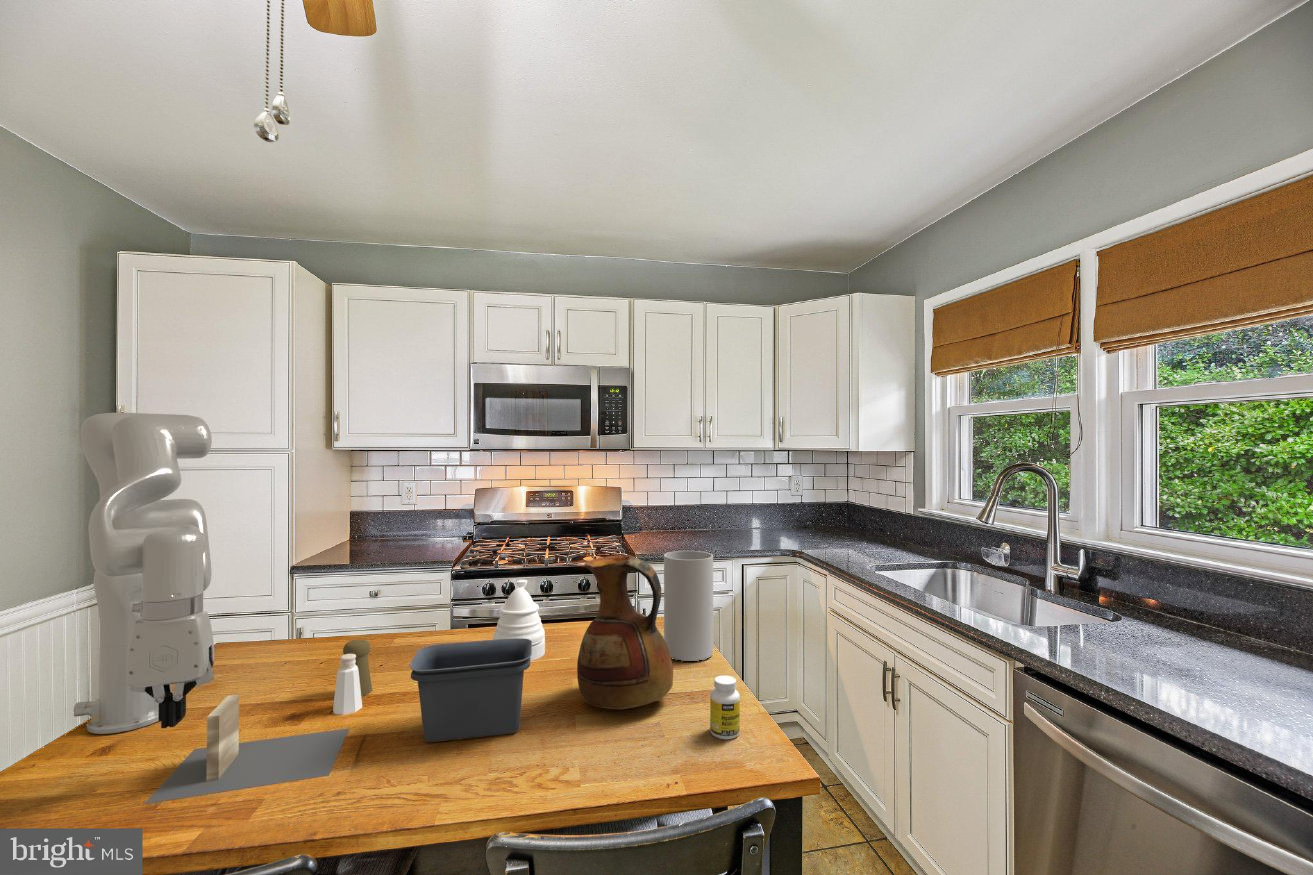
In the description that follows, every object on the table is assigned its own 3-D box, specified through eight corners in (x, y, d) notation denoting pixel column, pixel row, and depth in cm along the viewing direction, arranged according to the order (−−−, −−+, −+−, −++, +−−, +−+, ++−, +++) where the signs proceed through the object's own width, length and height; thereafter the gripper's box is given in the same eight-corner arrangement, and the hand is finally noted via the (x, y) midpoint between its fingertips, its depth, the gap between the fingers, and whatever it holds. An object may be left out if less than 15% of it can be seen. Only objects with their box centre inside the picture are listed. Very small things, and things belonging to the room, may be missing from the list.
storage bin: (404, 753, 98) (404, 670, 99) (422, 712, 113) (422, 640, 114) (531, 740, 103) (531, 660, 103) (532, 702, 118) (532, 632, 118)
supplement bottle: (721, 743, 102) (720, 687, 102) (704, 729, 106) (704, 676, 107) (745, 736, 104) (745, 681, 104) (728, 723, 109) (728, 671, 109)
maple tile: (206, 781, 89) (207, 716, 89) (227, 754, 97) (227, 695, 97) (218, 779, 90) (219, 715, 90) (238, 753, 97) (239, 694, 98)
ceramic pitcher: (593, 677, 131) (593, 545, 131) (680, 684, 127) (680, 549, 127) (562, 716, 112) (562, 562, 112) (663, 727, 107) (663, 567, 108)
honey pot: (505, 643, 153) (505, 576, 153) (551, 646, 151) (551, 577, 151) (484, 661, 140) (484, 588, 141) (534, 664, 138) (534, 589, 139)
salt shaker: (341, 719, 110) (342, 662, 111) (326, 713, 113) (326, 657, 113) (368, 709, 115) (369, 653, 115) (353, 702, 118) (353, 648, 118)
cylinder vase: (688, 641, 154) (688, 548, 155) (723, 654, 145) (723, 555, 145) (653, 653, 146) (653, 554, 146) (689, 667, 137) (688, 562, 137)
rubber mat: (143, 807, 84) (143, 804, 84) (194, 751, 99) (194, 748, 99) (328, 778, 91) (328, 775, 91) (349, 730, 106) (349, 728, 106)
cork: (358, 699, 119) (359, 646, 119) (333, 697, 120) (334, 644, 121) (378, 687, 125) (378, 637, 125) (354, 685, 126) (354, 635, 126)
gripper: (100, 619, 86) (99, 743, 85) (218, 609, 90) (217, 727, 90) (129, 606, 93) (127, 720, 92) (237, 598, 97) (236, 707, 97)
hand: (172, 723), depth 91 cm, fingers closed
